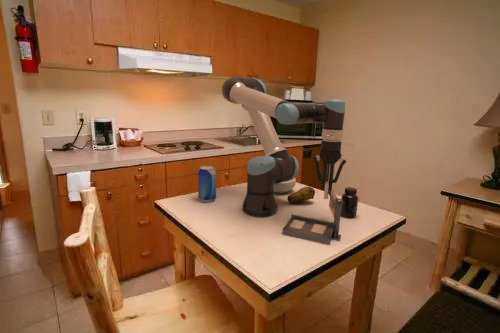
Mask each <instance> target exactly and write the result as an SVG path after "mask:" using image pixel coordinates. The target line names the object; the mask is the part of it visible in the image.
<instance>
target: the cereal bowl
mask: <svg viewBox="0 0 500 333" xmlns="http://www.w3.org/2000/svg"><path fill="white" fill-rule="evenodd" d="M296 180H297V179H296V177H295V178H294V179H292V180H290V181H288V182H282V183H279V184H275V185H274V194H275V193H276V194H285V193H287V192H289V191H291V190H293V189H294V187H295V186H296V183H297V182H296Z"/></svg>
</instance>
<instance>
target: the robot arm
mask: <svg viewBox="0 0 500 333" xmlns="http://www.w3.org/2000/svg"><path fill="white" fill-rule="evenodd" d="M221 95H222V96H223V99H225V100H226V101H228V102H229V103H231V104H235V105H240V104H241V106H242V108H243V110H244V111H246V112H247V113H248V116H249V117H250V120H251V122H252V125H253V128H254V129H255V132H256V134H257V137H258V139H259V141H260V145H261V146H262V148H263V151H264V153H265V155H262V156H260V155H259V156H258V155H257V156H255V157H252V158H250V159H249V160H248V162H247V169H246V174H247V175H246V194H245V198H244V200H243V202H242V208H241V210H242V212H243V213H244V214H246V215H249V216H251V217H257V218H258V217H261V218H262V217H271V216H273V215H275V214H276V213H277V210H278V207H277V206H278V205H277V202H276V199H275V192H274V185H275V184H279V183H282V182H288V181H290V180H292V179H294V178H295V179H296V177H297V176H298V173H299V171H300V165H299V161H298V159H297V158H296V156H293V155H291V154H290V153H289V151H288V149H287V148H285V147H283V145H282V143H281V140H280V138H279V135H278V133H277V132H276V129H275V127H274V124H273V122H272V119H271V117H272V118H275V119H276V121H278V123H279V124H281V125H287V126H289V125H297V124H321V125H322V132H321V139H322V140H321V144H320V152H319V154H317V155H314V156H313V157H312V160H313V161H314V164H315V169H316V176H317V179H318V181H320V182H321V183H322V185H321V190H322V191H324V192H323V200H328V199H329V196H330V195H329V191H331V190H332V188H333V184H336V183H337V182H338V180H339V177H340V175H341V172H342V170H343V167H344V166H345V165H346V163H347V161H348V160H347V158H344V157H343V155H342V153H341V152H342V139H343V132H344V122H345V113H346V101H345V100H344V99H339V98H338V99H334V98H332V99H331V98H330V99H329V98H327V99H325V100H324V103H321V104H320V103H310V102H307V103H306V102H305V103H295V102H291V101H288V100H286V99H282V98H279V97H277V96H273V95H270V94H267V89H266V86H265V84H264V82H263V81H262V80H261V79H257V78H255V77H240V76H239V77H238V76H232V77H229V78H227V79H225V81H224V82H223V84H222V86H221ZM320 159H321V161H322V163H323V168H321V163H320ZM338 161H339V163H340V164H339V166H338V169H337V171H336V174H334V173H335V166H336V163H338ZM329 166H330V167H329ZM328 168H329V176H328ZM322 169H323V171H322ZM334 175H335V176H334ZM327 179H328V181H327Z"/></svg>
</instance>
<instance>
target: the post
mask: <svg viewBox="0 0 500 333" xmlns="http://www.w3.org/2000/svg"><path fill="white" fill-rule="evenodd" d="M335 201H336V206H335V216H333V218H334V219H333V222H334V225H333V234H332V239H331V241H338V242H340V241H341V237H342V234H340V233H339V231H340V222H341V207H342V202H343V199H341V198H338V197H337V199H335Z"/></svg>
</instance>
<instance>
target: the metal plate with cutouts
mask: <svg viewBox="0 0 500 333" xmlns="http://www.w3.org/2000/svg"><path fill="white" fill-rule="evenodd" d="M333 225H334V221H328V220H323V219H318V218H313V217H308V216H303V215H299V214H298V215H297V214H291V216H290V218H289V220H288V221H287V222H286V224H285V225H284V226H283V228H282V231H281V232H282V235H284V236H290V237H294V238H298V239H301V240H307V241H310V242H314V243H315V242H316V243H320V244H324V245H329V246H330V245H331V242H332V234H333Z"/></svg>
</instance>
